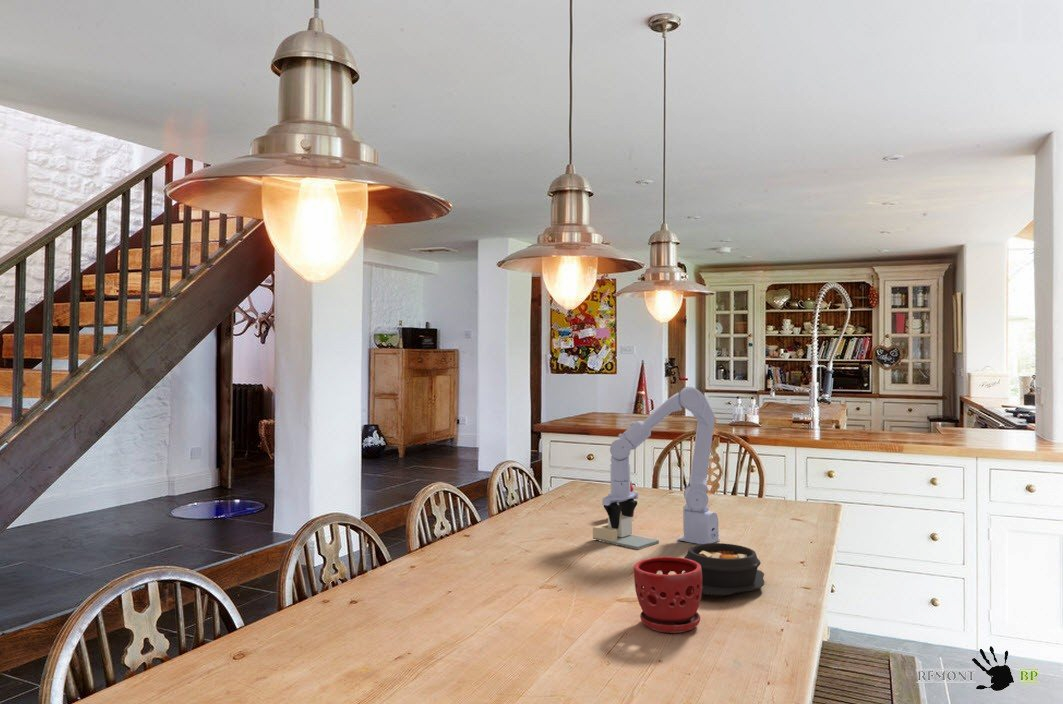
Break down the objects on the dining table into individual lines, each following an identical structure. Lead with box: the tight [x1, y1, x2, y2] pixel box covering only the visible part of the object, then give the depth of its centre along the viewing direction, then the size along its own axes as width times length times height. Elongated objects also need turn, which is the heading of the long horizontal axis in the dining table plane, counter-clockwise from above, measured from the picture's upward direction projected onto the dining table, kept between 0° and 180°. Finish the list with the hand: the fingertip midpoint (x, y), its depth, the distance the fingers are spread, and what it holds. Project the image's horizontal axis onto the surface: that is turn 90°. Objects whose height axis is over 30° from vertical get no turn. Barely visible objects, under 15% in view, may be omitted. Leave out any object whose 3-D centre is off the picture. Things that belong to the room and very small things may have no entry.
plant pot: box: [633, 556, 703, 634], centre depth 144 cm, size 13×13×12 cm
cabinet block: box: [607, 515, 633, 537], centre depth 216 cm, size 5×5×6 cm
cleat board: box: [592, 522, 660, 550], centre depth 211 cm, size 16×10×4 cm, turn 45°
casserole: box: [683, 542, 765, 597], centre depth 168 cm, size 25×19×8 cm
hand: (620, 526), depth 215 cm, fingers closed on cabinet block, 5 cm apart
